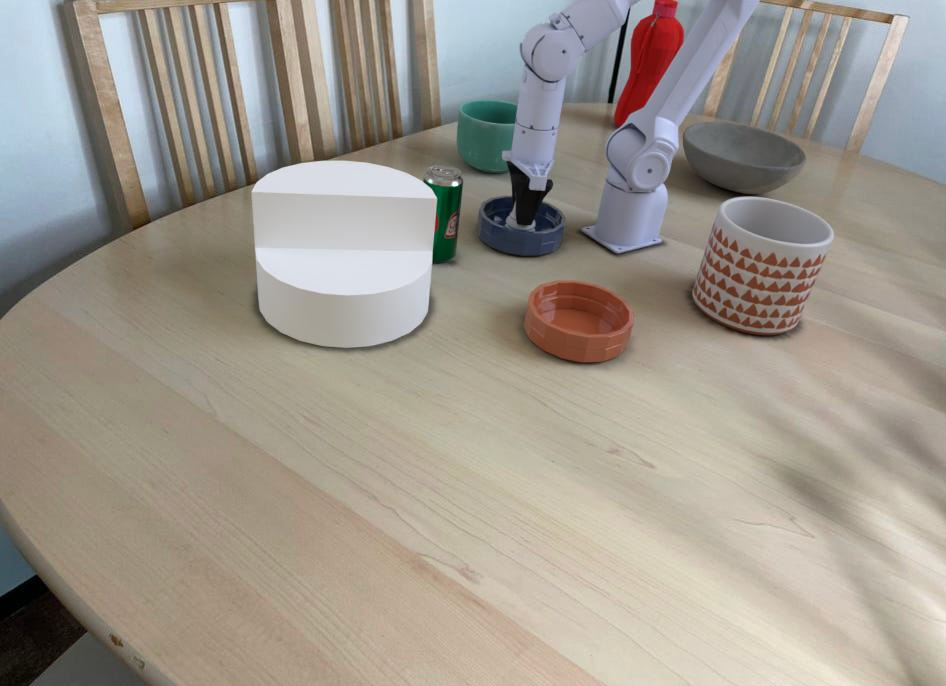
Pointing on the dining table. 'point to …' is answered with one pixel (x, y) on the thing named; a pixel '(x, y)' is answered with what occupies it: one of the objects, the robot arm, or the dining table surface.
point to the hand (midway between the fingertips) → (522, 217)
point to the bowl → (742, 156)
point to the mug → (486, 133)
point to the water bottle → (650, 57)
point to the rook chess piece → (513, 224)
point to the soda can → (445, 209)
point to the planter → (761, 264)
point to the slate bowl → (518, 241)
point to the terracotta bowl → (578, 321)
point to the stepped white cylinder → (343, 251)
